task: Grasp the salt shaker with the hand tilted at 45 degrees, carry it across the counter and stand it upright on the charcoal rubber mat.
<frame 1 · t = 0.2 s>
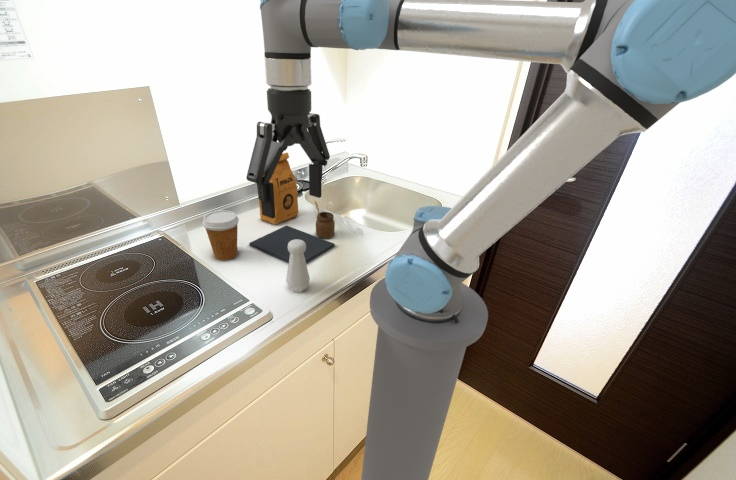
hand: (293, 205, 73), 25 cm above the worktop, tool pointing down, fingers open, 13 cm apart
disposable coffee cup: (226, 255, 105), on the worktop
mat: (292, 246, 110), on the worktop
brown jar with stick: (324, 235, 117), on the worktop
salt shaker: (298, 288, 92), on the worktop
coffee package: (280, 219, 127), on the worktop
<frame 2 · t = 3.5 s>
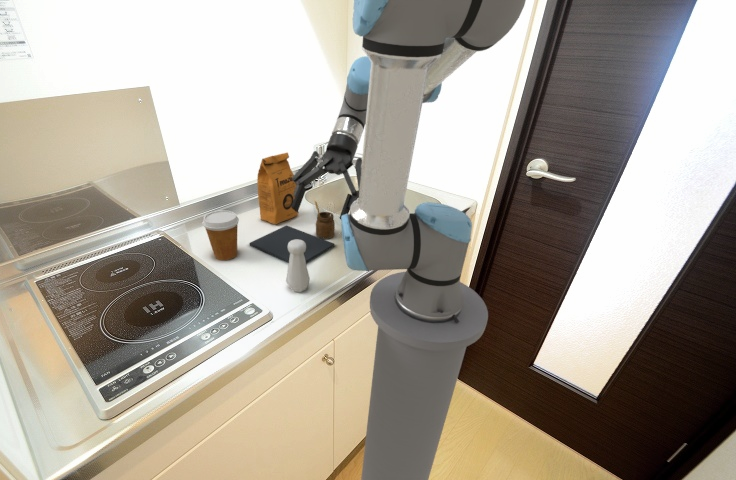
hand: (317, 215, 91), 16 cm above the worktop, tool tilted 45°, fingers open, 13 cm apart
nothing on the worktop moved.
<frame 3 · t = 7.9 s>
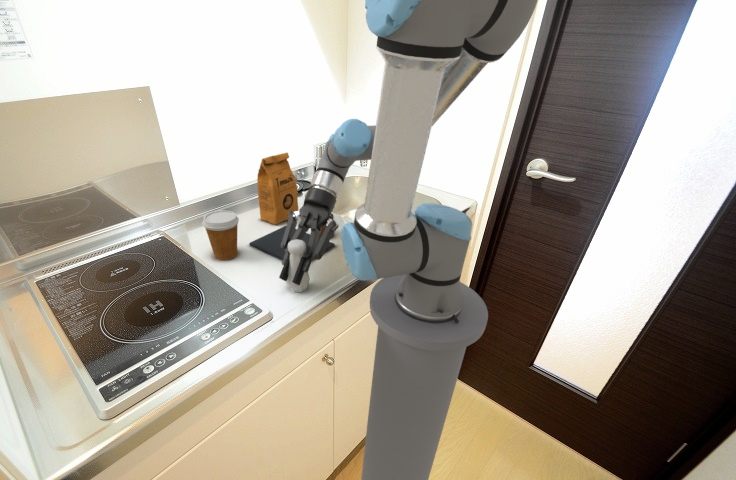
hand: (289, 281, 87), 4 cm above the worktop, tool tilted 45°, fingers closed on salt shaker, 3 cm apart
salt shaker: (298, 288, 92), on the worktop, touching gripper
everything else where it was.
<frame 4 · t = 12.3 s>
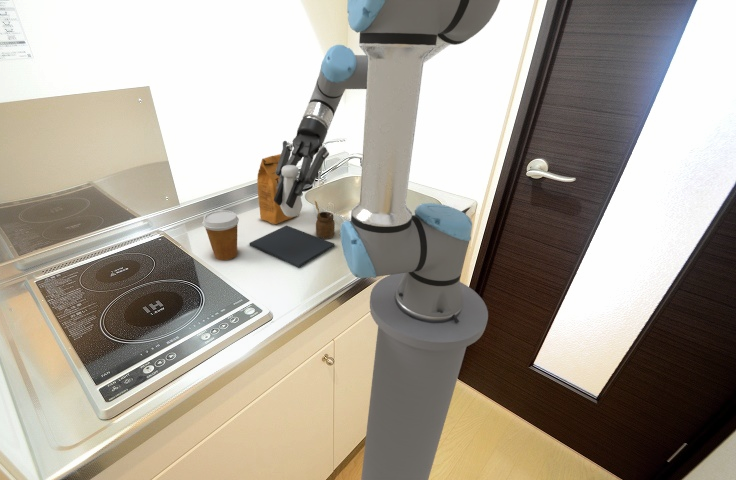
hand: (283, 204, 93), 17 cm above the worktop, tool tilted 45°, fingers closed on salt shaker, 3 cm apart
salt shaker: (291, 214, 99), point 13 cm above the worktop, touching gripper
everything else where it was.
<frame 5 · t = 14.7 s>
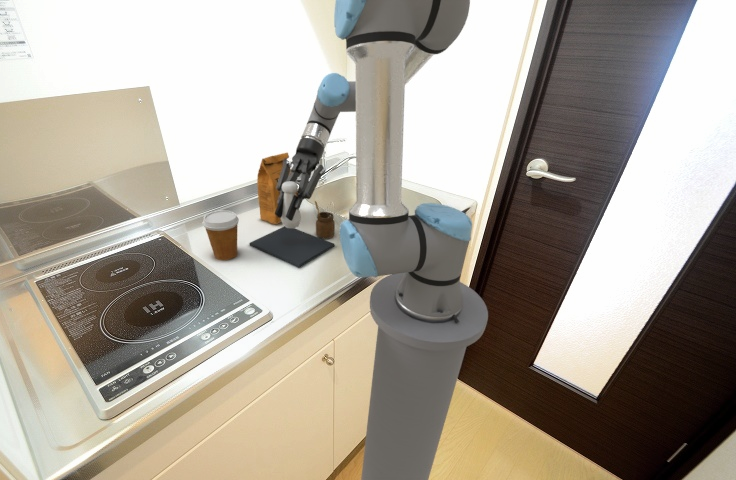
hand: (283, 217, 102), 11 cm above the worktop, tool tilted 45°, fingers closed on salt shaker, 3 cm apart
salt shaker: (291, 226, 107), point 7 cm above the worktop, touching gripper
everything else where it was.
when the fingers open (5 cm above the worktop, at t = 16.5 s): salt shaker stays where it is, resting on mat.
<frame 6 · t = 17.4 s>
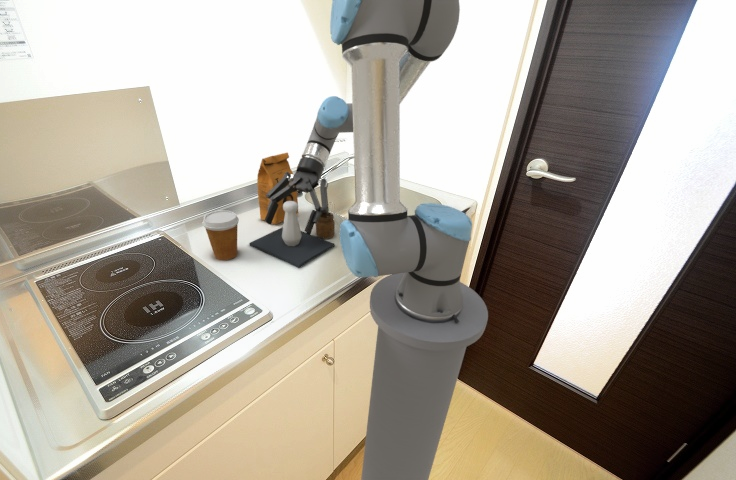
hand: (286, 227, 105), 7 cm above the worktop, tool tilted 45°, fingers open, 13 cm apart
salt shaker: (292, 243, 110), point 1 cm above the worktop, touching mat
everything else where it was.
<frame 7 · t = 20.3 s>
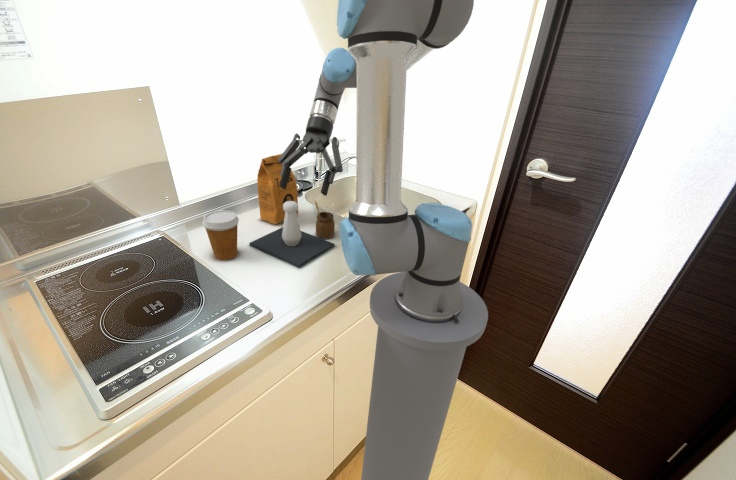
hand: (302, 191, 105), 16 cm above the worktop, tool tilted 40°, fingers open, 13 cm apart
nothing on the worktop moved.
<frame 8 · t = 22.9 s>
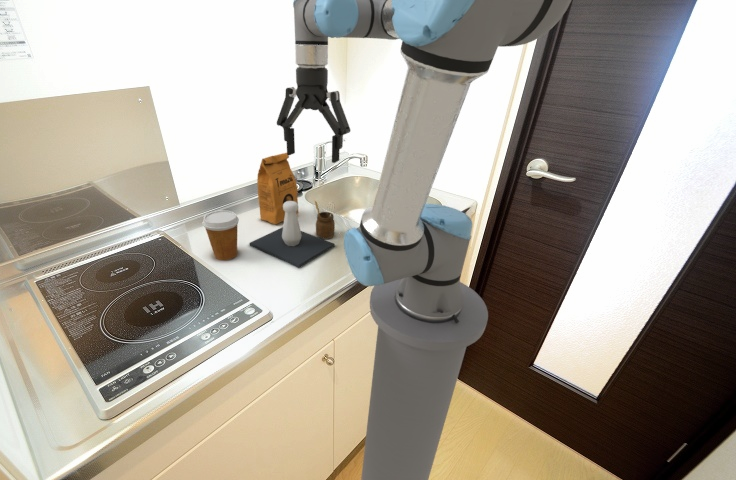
hand: (312, 157, 97), 27 cm above the worktop, tool pointing down, fingers open, 13 cm apart
nothing on the worktop moved.
at the end: salt shaker inside the target area on the mat (0.1 cm from its centre), point 0.8 cm above the mat's base; salt shaker tilted 0°; the gripper is holding nothing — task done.
